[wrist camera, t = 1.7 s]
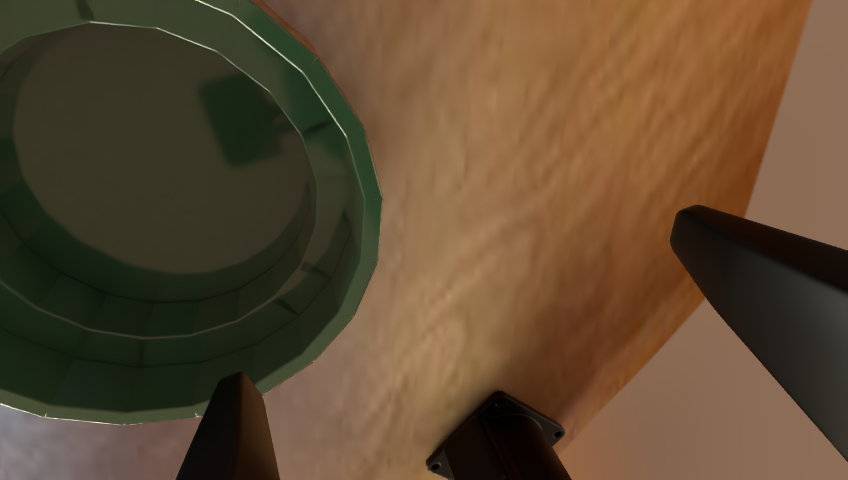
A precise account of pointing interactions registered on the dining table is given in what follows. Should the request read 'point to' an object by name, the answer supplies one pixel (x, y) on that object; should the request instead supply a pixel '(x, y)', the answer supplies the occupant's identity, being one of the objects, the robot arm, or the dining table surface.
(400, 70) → the dining table surface
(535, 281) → the dining table surface
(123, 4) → the bowl
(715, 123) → the dining table surface
